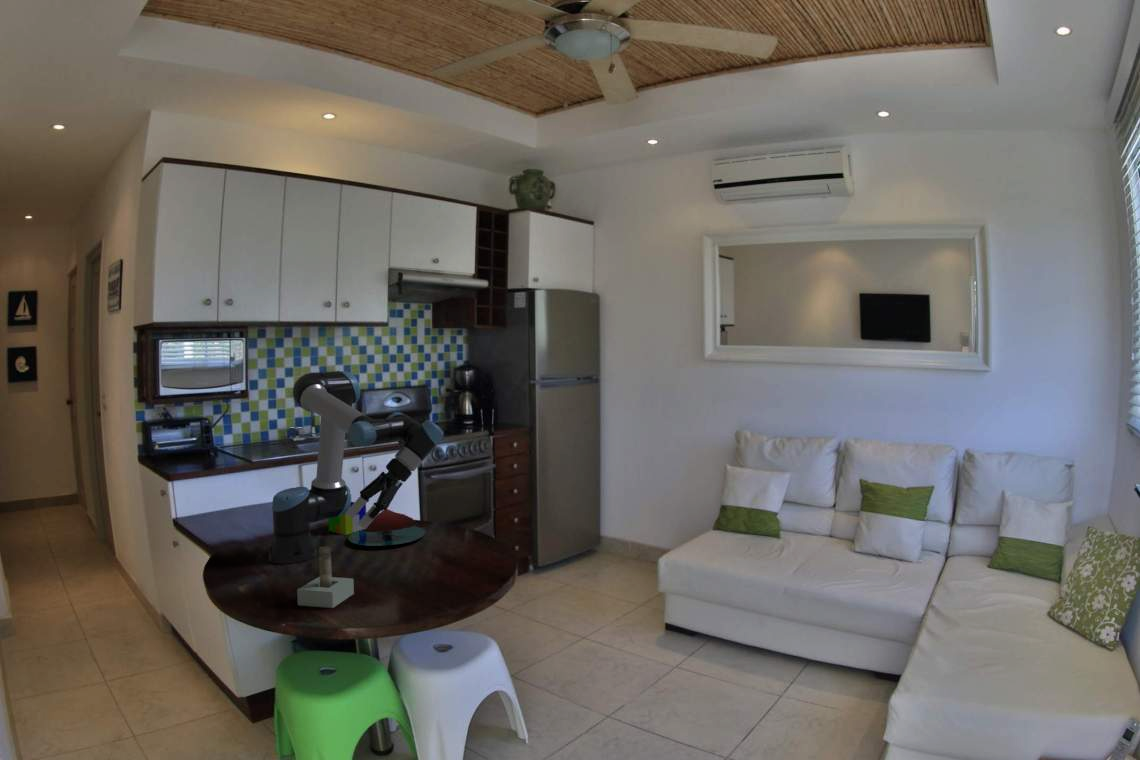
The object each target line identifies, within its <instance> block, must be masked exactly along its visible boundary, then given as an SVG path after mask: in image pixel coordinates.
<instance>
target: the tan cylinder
mask: <svg viewBox="0 0 1140 760" xmlns="http://www.w3.org/2000/svg"><path fill="white" fill-rule="evenodd" d="M331 548H332V547H331V546H328V545H326V546H320V547H319V548H318V559H319V563H318V564H319V568H318V569H319V577H320V587H325V588H329V587H331V586H332V577H333V574H332V551H331V550H332V549H331Z"/></svg>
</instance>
